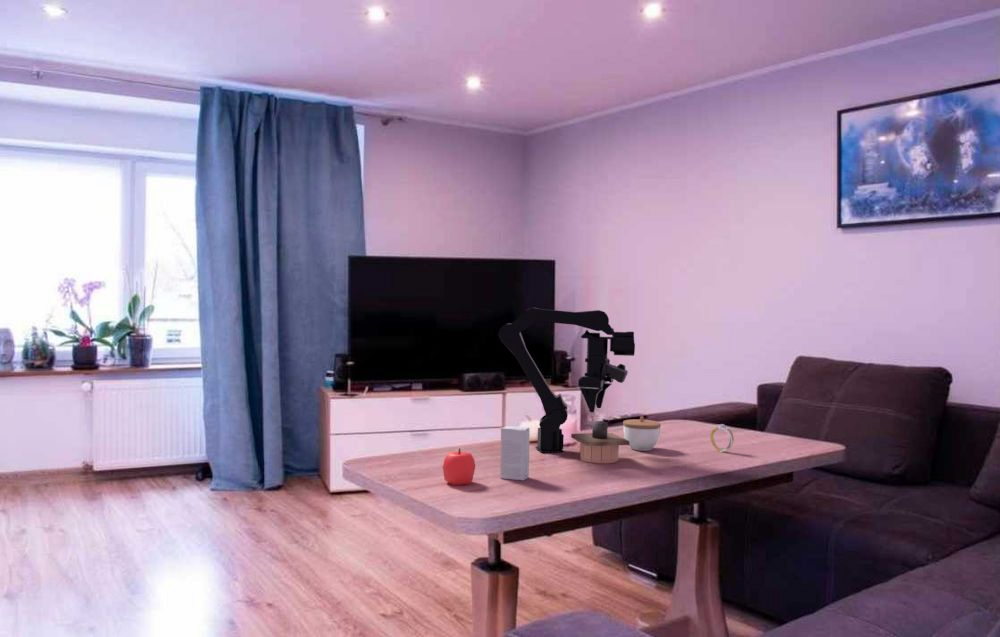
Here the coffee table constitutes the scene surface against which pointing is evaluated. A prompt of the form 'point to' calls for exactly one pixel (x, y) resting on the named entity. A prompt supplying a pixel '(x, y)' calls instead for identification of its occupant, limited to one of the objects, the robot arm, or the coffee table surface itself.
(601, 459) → the tan short open cylinder
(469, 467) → the apple
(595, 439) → the walnut lid
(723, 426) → the bracelet
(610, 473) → the coffee table surface
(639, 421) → the lidded jar
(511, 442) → the skincare box
